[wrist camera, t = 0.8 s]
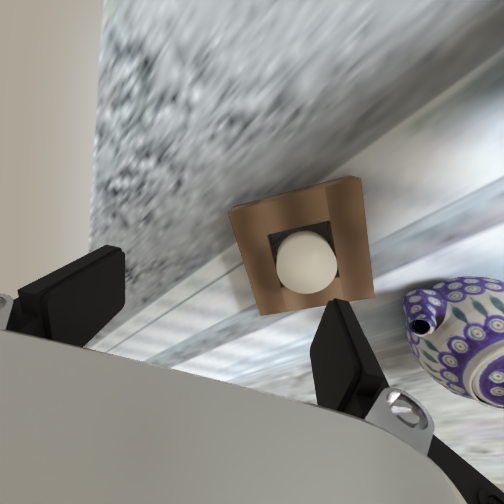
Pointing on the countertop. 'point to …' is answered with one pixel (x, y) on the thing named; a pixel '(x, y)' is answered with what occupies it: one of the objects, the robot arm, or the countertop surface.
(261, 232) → the housing
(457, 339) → the teapot
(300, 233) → the button
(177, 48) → the countertop surface
